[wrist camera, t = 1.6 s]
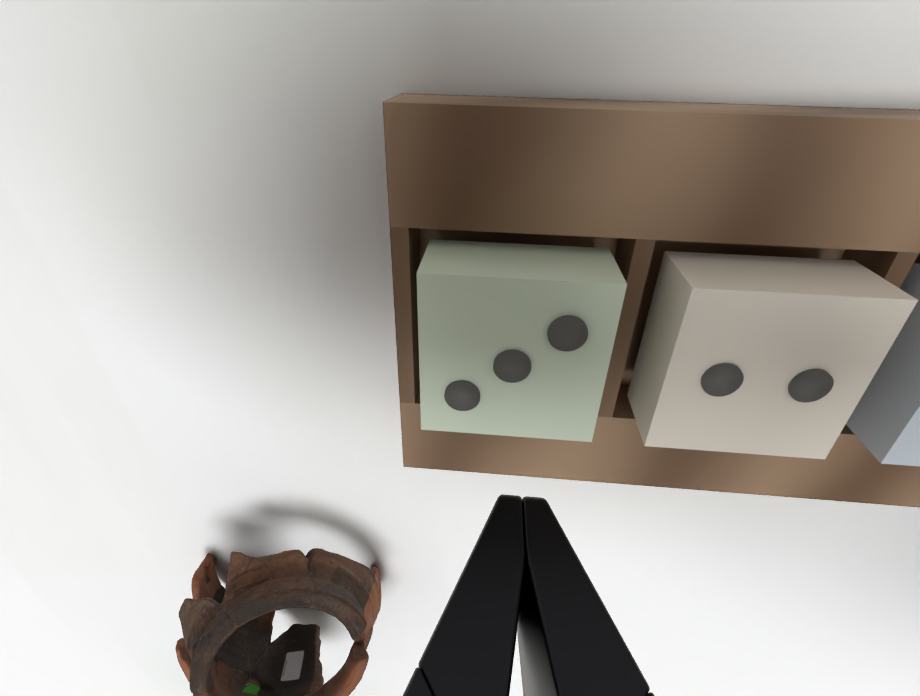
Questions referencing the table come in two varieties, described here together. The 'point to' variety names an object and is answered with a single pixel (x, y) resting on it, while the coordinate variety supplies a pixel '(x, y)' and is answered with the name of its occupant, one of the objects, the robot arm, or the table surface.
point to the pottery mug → (250, 626)
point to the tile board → (649, 247)
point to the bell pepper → (251, 689)
